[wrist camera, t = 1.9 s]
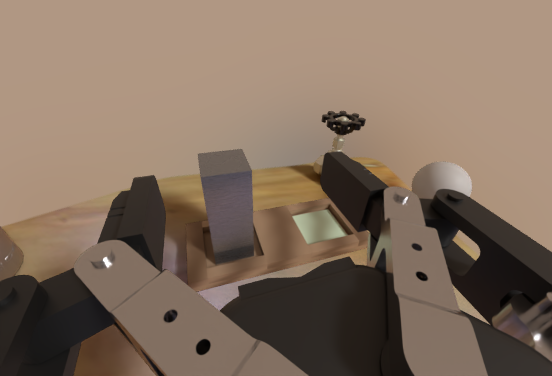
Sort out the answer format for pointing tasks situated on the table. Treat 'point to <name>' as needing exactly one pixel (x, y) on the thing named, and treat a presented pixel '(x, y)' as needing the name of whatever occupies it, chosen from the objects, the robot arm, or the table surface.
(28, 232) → the table surface
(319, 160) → the valve
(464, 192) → the lightbulb
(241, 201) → the metal block
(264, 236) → the tray
